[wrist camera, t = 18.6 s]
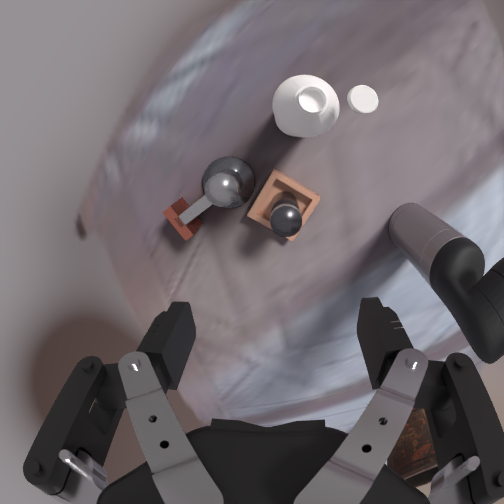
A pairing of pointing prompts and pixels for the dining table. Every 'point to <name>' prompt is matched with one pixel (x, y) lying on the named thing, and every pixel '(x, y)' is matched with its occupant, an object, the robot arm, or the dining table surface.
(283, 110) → the water bottle
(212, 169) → the base
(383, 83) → the dining table surface
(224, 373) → the dining table surface
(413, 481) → the clay pot
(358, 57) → the dining table surface
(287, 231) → the peg
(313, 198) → the tray
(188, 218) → the crank
